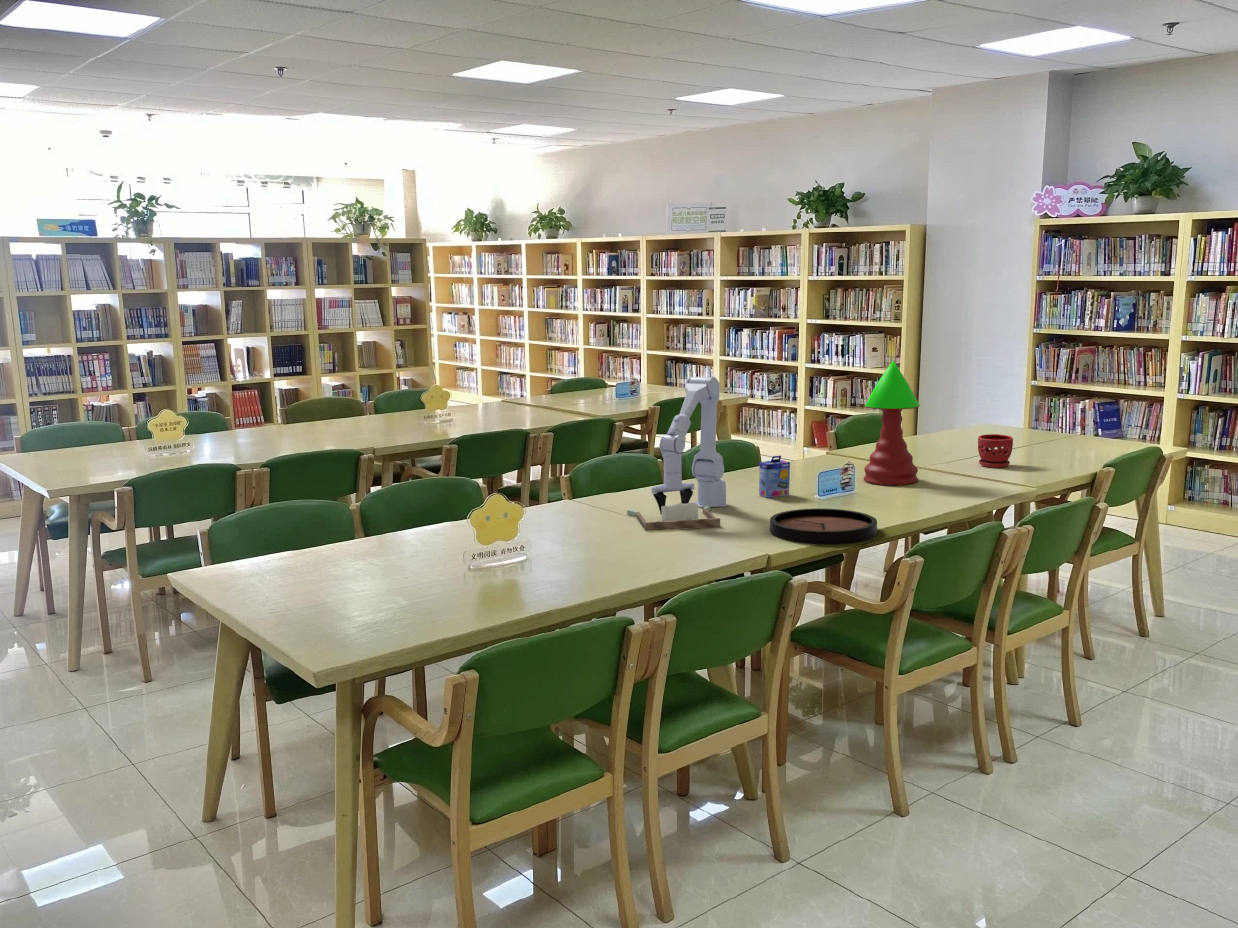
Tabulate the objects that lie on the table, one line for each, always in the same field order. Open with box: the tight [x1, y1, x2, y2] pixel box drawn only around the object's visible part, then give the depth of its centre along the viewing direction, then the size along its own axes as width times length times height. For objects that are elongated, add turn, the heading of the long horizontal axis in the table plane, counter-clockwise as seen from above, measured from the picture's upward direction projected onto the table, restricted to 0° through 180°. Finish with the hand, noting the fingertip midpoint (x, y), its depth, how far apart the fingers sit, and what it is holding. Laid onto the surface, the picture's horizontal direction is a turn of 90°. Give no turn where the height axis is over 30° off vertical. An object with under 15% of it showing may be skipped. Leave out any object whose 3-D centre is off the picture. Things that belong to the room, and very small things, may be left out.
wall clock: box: [769, 507, 878, 546], centre depth 301 cm, size 31×4×31 cm
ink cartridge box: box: [758, 455, 791, 499], centre depth 354 cm, size 10×6×14 cm, turn 115°
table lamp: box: [863, 360, 920, 486], centre depth 373 cm, size 20×20×45 cm
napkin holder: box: [661, 502, 699, 521], centre depth 322 cm, size 15×11×6 cm
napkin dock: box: [626, 506, 721, 532], centre depth 321 cm, size 28×24×2 cm
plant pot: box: [977, 433, 1014, 469], centre depth 400 cm, size 13×13×12 cm
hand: (673, 513), depth 325 cm, fingers open, 7 cm apart
